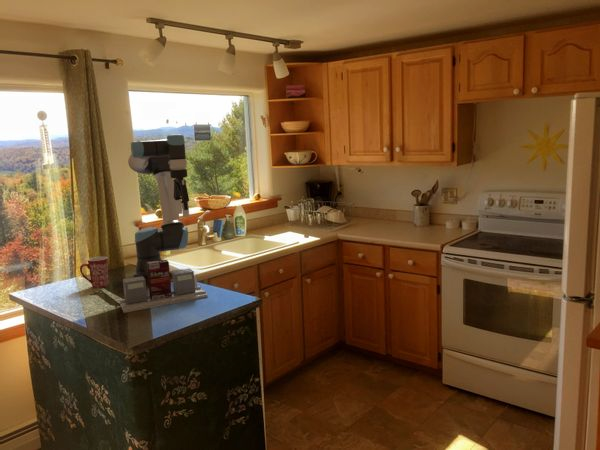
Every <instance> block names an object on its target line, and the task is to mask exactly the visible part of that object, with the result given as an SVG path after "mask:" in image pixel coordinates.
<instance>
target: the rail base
mask: <svg viewBox="0 0 600 450" xmlns="http://www.w3.org/2000/svg"><path fill="white" fill-rule="evenodd" d="M194 275H195V272H194V270H193V269H191V268H185V269H180V270H179V269H178V270H173V271H172V270H171V278H172V289H173V290H171V292H172V297H166V298H161V299H155V300H151V299H150V296H149V295H148V294H147V293H148V292H147V284H146V278H145V277H143V276H141V277H140V276H135V277H129V278H123V279H122V285H123V293H124V299H121V300H119V306H120V307H121V309H122V312H123V313H124V314H125V313H130V312H136V311H139V310H146V309H150V308H156V307H162V306H168V305H172V304H177V303H182V302H183V303H184V302H188V301H193V300H194V299H195V300H199V299H198V298H200V299H205V298H208V294H207V293H206V290H203V289H202V288H201V285H200V286H198V285H197V287H195V281H194ZM204 297H205V298H204ZM195 300H194V301H195Z"/></svg>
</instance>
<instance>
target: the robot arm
mask: <svg viewBox="0 0 600 450" xmlns="http://www.w3.org/2000/svg"><path fill="white" fill-rule="evenodd" d="M185 143H186V141H185V137H184V134H181V133H180V134H177V133H176V134H168V135H167V136H166V139H155V140H154V139H153V140H137V141H135V140H134V141H131V143H130V151H131V152H130V153H131V154H130V155H129V157H128V166H129V168H130V169H131V170H132V171H134V172H136V173H137V174H141V175H152V176H153V178H154V179H155V180H156V183H157V190H158V195H159V204H160V209H161V217H162V224H161V225H160V229H159V227H157V226H151V227H145V228H142V229H140V230H137V231H136V232H135V233H134V243H135V250H136V251H135V252H136V263H135V264H136V265H135V269H134V275H135V277H141V276H143V277H144V278H145V277H147V278H148V275H147V264H146V263H147V262H153V261H160V260H162V257H161V252H168V251H177V250H182V249H185V248H187V246H188V241H189V230H188V227H187V226H185V225H184V222H182V221H181V218H180V215H182V218H190V208H189V207H190V206H189V202H190V196H189V192H188V186H187V181H186V179H184V178H187V177H188V176H189V175H188V169H187V168H188V166H187V164H188V163H187V157H186V144H185Z"/></svg>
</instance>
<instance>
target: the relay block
mask: <svg viewBox="0 0 600 450" xmlns="http://www.w3.org/2000/svg"><path fill="white" fill-rule="evenodd" d="M197 280H198V279H197V275H195V274H194V281H195V287H198V281H197Z"/></svg>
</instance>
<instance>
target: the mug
mask: <svg viewBox="0 0 600 450" xmlns="http://www.w3.org/2000/svg"><path fill="white" fill-rule="evenodd" d="M86 261H87V263H83V264H81V265H80V267H79V271H80V274H81V276H83V278H84V280H85V279H86V280H87V282H88V283H90V284H91V287H92V288H94V289H99V288H100V289H101V288H106V287H108V286H109V272H108V270H109V268H108V267H109V266H108V257H107V256H95V257H90V258H88V259H87V260H86ZM83 267H87V269H88V270H89V274H90V279H89V278H88V277H86V275H85V274H84V273H83Z"/></svg>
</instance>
